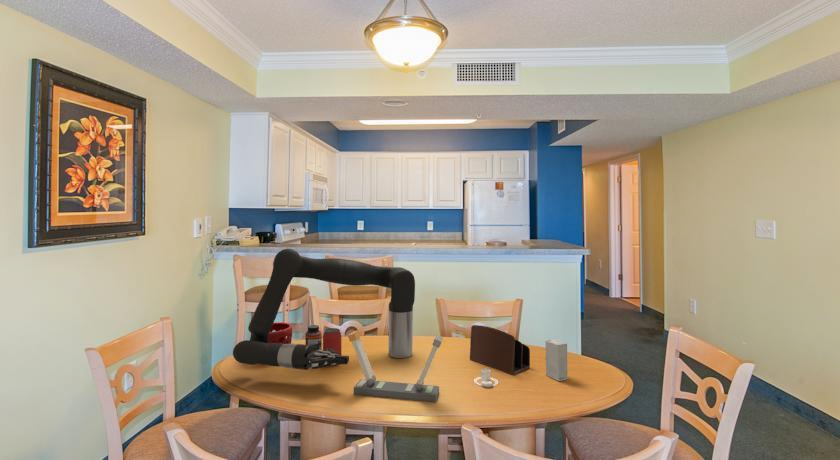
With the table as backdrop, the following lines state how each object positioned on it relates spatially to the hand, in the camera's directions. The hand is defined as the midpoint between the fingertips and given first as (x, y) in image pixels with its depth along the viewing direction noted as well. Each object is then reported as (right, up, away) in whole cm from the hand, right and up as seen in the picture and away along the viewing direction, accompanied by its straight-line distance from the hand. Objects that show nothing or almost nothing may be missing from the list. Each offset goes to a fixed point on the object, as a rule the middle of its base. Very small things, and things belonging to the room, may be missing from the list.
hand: (348, 360), depth 130 cm
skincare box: (+68, -9, +11) cm, 69 cm away
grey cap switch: (+22, -6, -4) cm, 23 cm away
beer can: (-10, -8, +22) cm, 26 cm away
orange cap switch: (+7, -6, -1) cm, 9 cm away
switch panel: (+15, -9, -3) cm, 18 cm away
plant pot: (-32, -8, +27) cm, 43 cm away
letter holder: (+51, -9, +23) cm, 56 cm away
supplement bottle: (-18, -8, +30) cm, 36 cm away
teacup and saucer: (+41, -10, +6) cm, 42 cm away
